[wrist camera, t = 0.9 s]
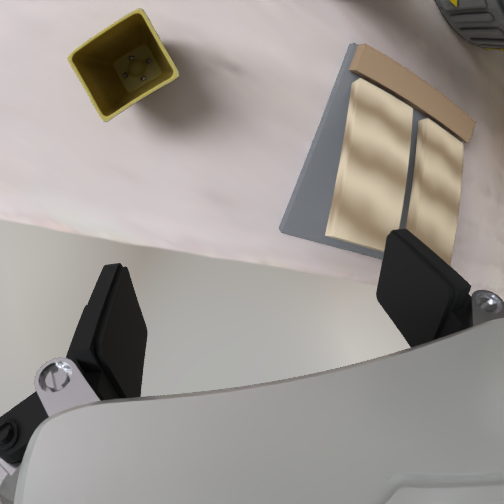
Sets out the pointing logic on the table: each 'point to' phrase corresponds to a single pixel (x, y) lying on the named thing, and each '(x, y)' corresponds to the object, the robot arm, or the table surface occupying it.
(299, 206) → the floor board
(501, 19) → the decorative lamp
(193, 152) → the table surface
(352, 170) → the oak plank
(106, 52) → the flower pot
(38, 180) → the table surface
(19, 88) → the table surface
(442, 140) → the oak plank
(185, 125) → the table surface
